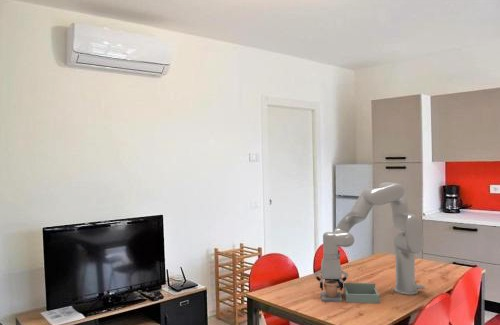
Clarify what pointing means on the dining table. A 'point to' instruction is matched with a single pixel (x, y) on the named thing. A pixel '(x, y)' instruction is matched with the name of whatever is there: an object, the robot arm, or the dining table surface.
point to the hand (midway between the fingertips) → (331, 289)
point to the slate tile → (328, 299)
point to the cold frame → (361, 293)
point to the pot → (331, 288)
